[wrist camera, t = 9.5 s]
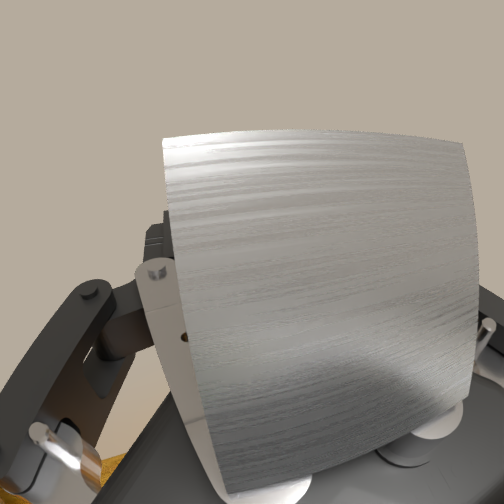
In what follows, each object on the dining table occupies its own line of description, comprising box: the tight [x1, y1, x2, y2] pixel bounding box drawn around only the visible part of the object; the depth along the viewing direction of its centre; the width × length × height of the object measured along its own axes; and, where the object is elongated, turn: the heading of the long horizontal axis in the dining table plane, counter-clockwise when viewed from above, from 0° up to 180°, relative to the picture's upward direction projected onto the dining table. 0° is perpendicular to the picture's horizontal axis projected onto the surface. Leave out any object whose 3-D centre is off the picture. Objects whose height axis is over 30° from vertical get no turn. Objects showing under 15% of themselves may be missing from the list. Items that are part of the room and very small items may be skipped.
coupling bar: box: [162, 130, 479, 495], centre depth 15 cm, size 4×26×4 cm, turn 13°
